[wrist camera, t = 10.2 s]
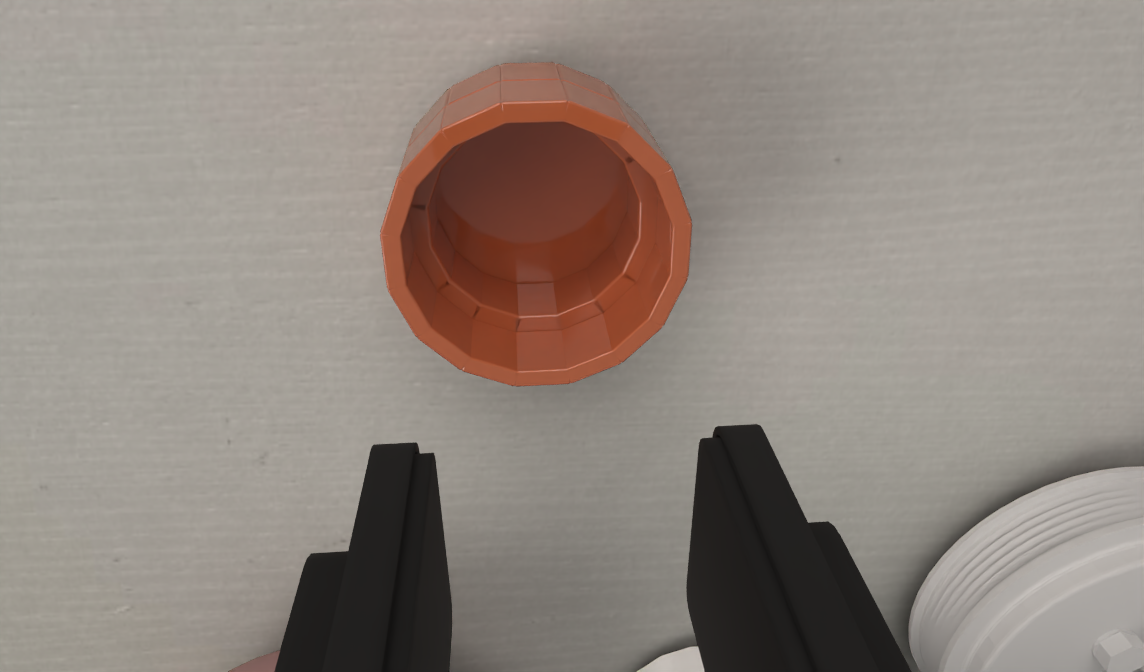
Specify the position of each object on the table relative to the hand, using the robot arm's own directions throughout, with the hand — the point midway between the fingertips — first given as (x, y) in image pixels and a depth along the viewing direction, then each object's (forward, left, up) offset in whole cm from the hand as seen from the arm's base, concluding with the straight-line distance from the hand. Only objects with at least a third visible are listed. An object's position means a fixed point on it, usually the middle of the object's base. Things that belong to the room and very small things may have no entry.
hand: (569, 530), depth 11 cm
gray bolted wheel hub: (+16, +20, -13) cm, 29 cm away
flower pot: (0, 0, -13) cm, 13 cm away
